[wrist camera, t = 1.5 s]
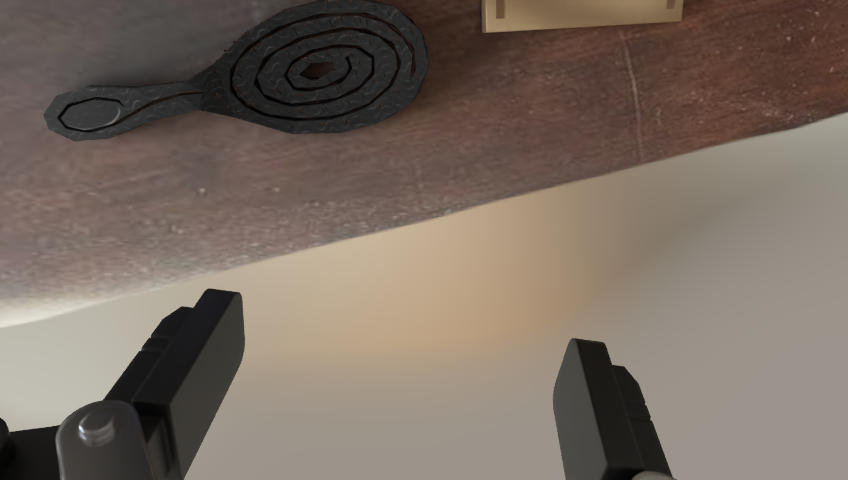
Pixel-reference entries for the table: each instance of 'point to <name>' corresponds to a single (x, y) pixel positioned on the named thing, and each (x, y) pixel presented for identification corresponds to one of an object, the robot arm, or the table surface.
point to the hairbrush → (273, 78)
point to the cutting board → (575, 13)
